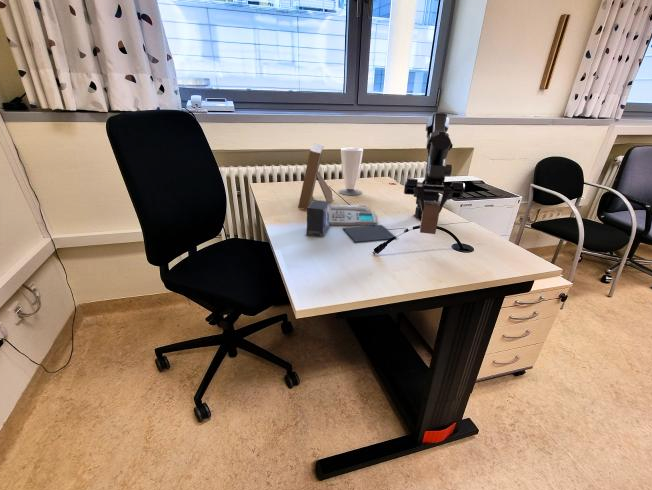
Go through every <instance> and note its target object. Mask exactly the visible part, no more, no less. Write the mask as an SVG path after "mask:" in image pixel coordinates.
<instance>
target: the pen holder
mask: <svg viewBox="0 0 652 490" xmlns="http://www.w3.org/2000/svg"><path fill="white" fill-rule="evenodd" d="M440 203H441V201H435V200H434V201H426V200H424V209H423V211H422V218H421V220H420V224H419V233H421V234H427V235H429V234H430V235H436V233H437V229H438V228H437V227H438V223H439V216H440V213H441V212H440ZM439 212H440V213H439Z"/></svg>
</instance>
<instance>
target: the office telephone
mask: <svg viewBox="0 0 652 490" xmlns="http://www.w3.org/2000/svg"><path fill="white" fill-rule="evenodd" d="M331 225H334V226H356V225H364V226H375V225H378V221H377V215H376V213H375V211H370V209H369V206H367V205H355V204H354V205H350V204H349V205H348V204H331V205H329V226H331Z"/></svg>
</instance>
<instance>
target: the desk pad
mask: <svg viewBox="0 0 652 490" xmlns="http://www.w3.org/2000/svg"><path fill="white" fill-rule="evenodd" d="M342 230H343V231H344V232H345V233H346V235H348V236H349V238H350V239H351V240H352V241H353V242H354V243H355V244H356V243H367V242H376V241H387V240H388V241H389V240H392V239H391V238H392V237H396V236H395V235H394V234H393V233H392V232H390V231H389V230H388V229H387V228H385V226H383V225H382V224H377V225H364V226H352V227H343V229H342ZM396 239H397V237H396V238H394V239H393V240H396Z"/></svg>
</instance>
